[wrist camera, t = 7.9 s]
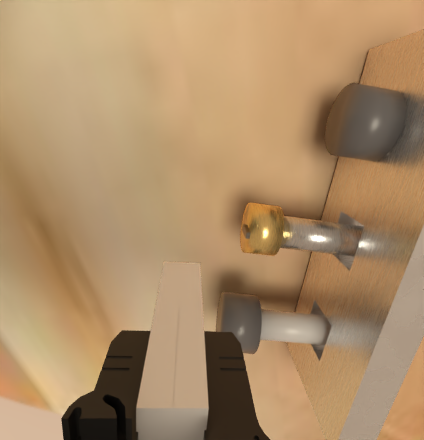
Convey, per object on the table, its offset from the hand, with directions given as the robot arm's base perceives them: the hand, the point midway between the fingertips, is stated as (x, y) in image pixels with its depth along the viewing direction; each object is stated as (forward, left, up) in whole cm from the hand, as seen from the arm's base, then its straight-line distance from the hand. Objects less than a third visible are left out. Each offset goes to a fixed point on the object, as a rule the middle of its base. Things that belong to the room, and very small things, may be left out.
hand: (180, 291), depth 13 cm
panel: (+17, -1, -16) cm, 24 cm away
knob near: (+16, +8, -14) cm, 22 cm away
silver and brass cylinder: (+10, -1, -13) cm, 17 cm away
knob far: (+10, -10, -14) cm, 19 cm away
